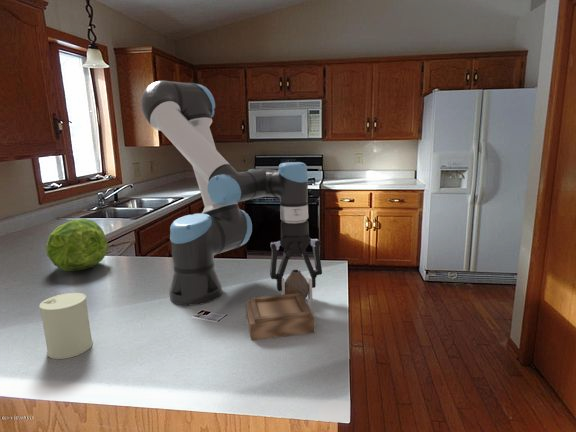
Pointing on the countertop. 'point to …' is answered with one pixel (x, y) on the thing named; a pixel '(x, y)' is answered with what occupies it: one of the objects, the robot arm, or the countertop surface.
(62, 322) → the can
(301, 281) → the vase
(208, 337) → the countertop surface
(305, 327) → the brown wooden flat box
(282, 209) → the robot arm
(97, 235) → the lettuce
